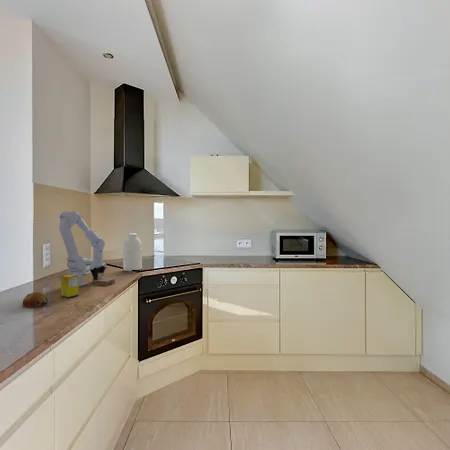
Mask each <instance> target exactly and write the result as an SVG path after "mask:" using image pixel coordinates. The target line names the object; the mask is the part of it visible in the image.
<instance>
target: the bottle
mask: <svg viewBox="0 0 450 450" xmlns="http://www.w3.org/2000/svg"><path fill="white" fill-rule="evenodd" d="M123 245H124V247H123V249H122V250H123V271H124V272H133V271H132V270H138V269H141V268H142V269H143V248H142V245H143V243H142V241H141V239H140V238H139V237H138V233H135V232H134V233H128V237H127V238H126V239H125V241H124V242H123Z"/></svg>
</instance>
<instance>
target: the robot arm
mask: <svg viewBox="0 0 450 450" xmlns="http://www.w3.org/2000/svg"><path fill="white" fill-rule="evenodd" d="M58 217H59V227H58V228H59V232H60V235H61V237H62V240H63V243H64V247H65V249H66V252H67V255H68V257H67V258H66V261H67V262H66V263H67V268H68V269H69V270H68V271H69V272H67V273H66V274H65V275H69V274H74V275H78V288H79V287H82V286H85V285H87V282H84V274H83V270H84V268H85V266H86V263H85V261H84V260H83V258H84V257H83V256H81V254H80V253H79V250H78V247H77V245H76V241H75V238H74V236H73V233H72V228H73V226H74V225H76V226H77V227H79V228H80V229H81V230H82V231H83V232H84V237H85V238H87V240H88V241H89V242H90V245H91V247H92V256H93V257H92V262H93V263H92V264H91V266H90V271H91V273H90V274H91V277H92V276H93V279H94V280H97V278H98V273H104V274H105V270H106V269H107V267H106V266H107V263H106V262H104V247H105V246H106V243H105V241H104V239H103V238H101V237H100V236H99V235H98V234H97V233H96V230H93V229H90V227H89V226H88V225H87V224H86V222H85V221H84V220H83V218H82V216H81V215H80V214H79V212H78V211H76V210H75V211H67V210H66V211H62V212H61V214H60V215H59V216H58Z"/></svg>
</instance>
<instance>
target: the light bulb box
mask: <svg viewBox="0 0 450 450" xmlns="http://www.w3.org/2000/svg"><path fill="white" fill-rule="evenodd" d="M82 258H83V260H84V261H85V263H86V266H85V268H84V270H83V275H89V274H92V273H91V271H90V266H91V265H92V262H91V261H92V259H91V258H85V257H82Z"/></svg>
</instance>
